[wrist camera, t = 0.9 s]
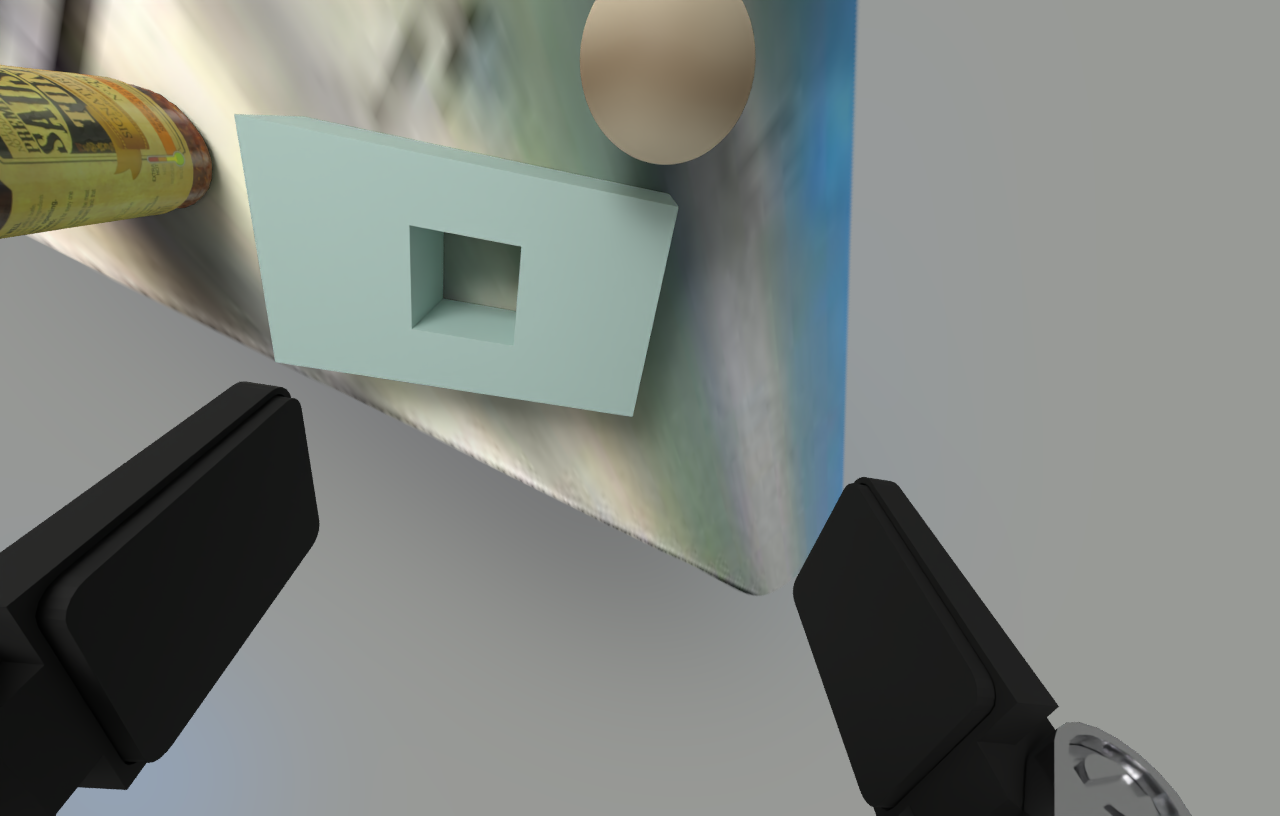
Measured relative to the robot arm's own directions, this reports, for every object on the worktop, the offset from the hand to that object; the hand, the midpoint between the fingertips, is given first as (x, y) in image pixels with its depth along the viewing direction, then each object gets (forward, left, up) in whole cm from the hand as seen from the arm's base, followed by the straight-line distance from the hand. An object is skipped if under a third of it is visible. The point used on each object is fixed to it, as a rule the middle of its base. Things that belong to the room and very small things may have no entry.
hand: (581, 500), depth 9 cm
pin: (-8, +1, -25) cm, 26 cm away
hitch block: (+3, -7, -25) cm, 26 cm away
